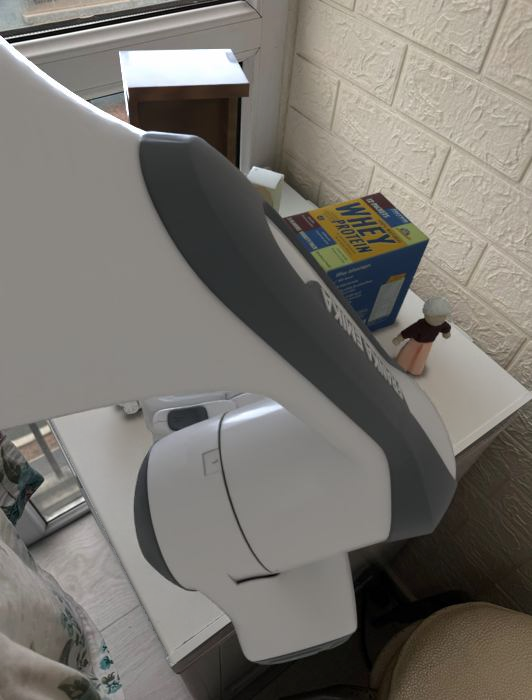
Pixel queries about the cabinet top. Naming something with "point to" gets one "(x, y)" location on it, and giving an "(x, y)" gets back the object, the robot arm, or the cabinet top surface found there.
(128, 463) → the cabinet top surface
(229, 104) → the shelf
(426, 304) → the grandmother figurine
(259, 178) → the box
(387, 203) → the protein box
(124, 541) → the cabinet top surface
